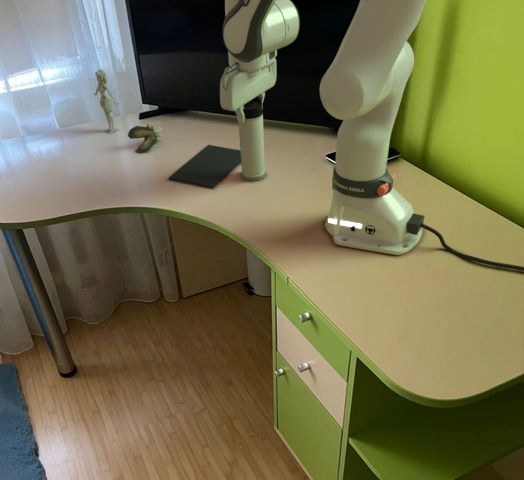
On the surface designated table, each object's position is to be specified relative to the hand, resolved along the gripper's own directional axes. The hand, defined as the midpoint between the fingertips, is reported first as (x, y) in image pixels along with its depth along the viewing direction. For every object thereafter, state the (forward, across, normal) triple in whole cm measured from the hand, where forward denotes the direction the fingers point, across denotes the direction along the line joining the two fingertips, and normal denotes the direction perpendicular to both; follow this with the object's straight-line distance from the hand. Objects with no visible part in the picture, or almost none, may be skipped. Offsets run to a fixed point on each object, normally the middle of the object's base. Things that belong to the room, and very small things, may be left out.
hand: (250, 116), depth 140 cm
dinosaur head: (+16, +1, +39) cm, 42 cm away
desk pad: (+16, -1, +14) cm, 21 cm away
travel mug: (+16, 0, 0) cm, 16 cm away
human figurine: (+17, +5, +57) cm, 59 cm away
